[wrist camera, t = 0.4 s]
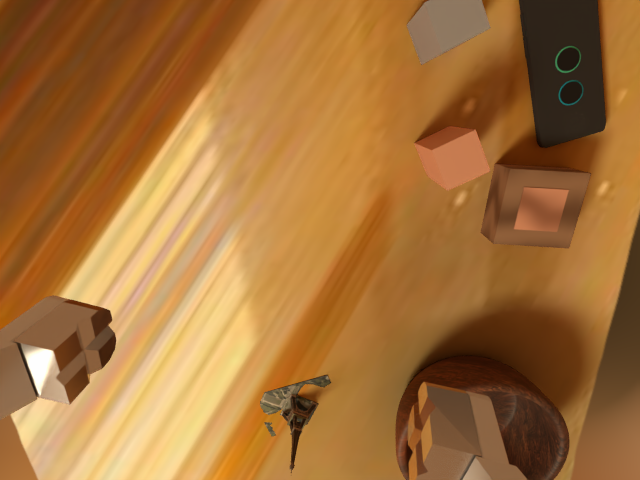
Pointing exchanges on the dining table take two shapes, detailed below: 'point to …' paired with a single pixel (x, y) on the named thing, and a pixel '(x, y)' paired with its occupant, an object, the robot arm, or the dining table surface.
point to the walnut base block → (534, 205)
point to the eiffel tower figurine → (292, 408)
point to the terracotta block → (452, 156)
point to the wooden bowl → (497, 413)
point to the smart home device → (564, 68)
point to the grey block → (446, 26)
